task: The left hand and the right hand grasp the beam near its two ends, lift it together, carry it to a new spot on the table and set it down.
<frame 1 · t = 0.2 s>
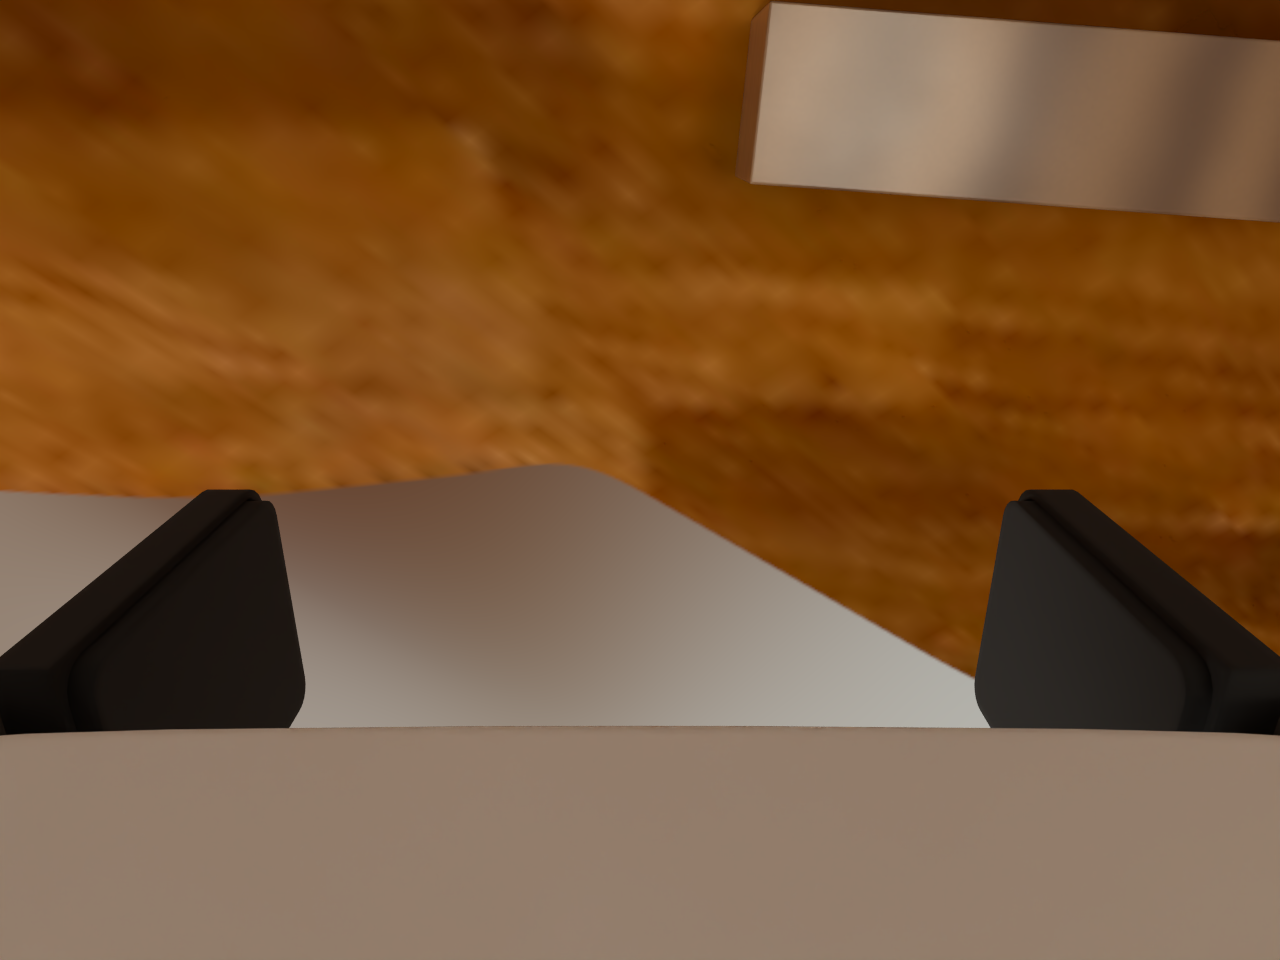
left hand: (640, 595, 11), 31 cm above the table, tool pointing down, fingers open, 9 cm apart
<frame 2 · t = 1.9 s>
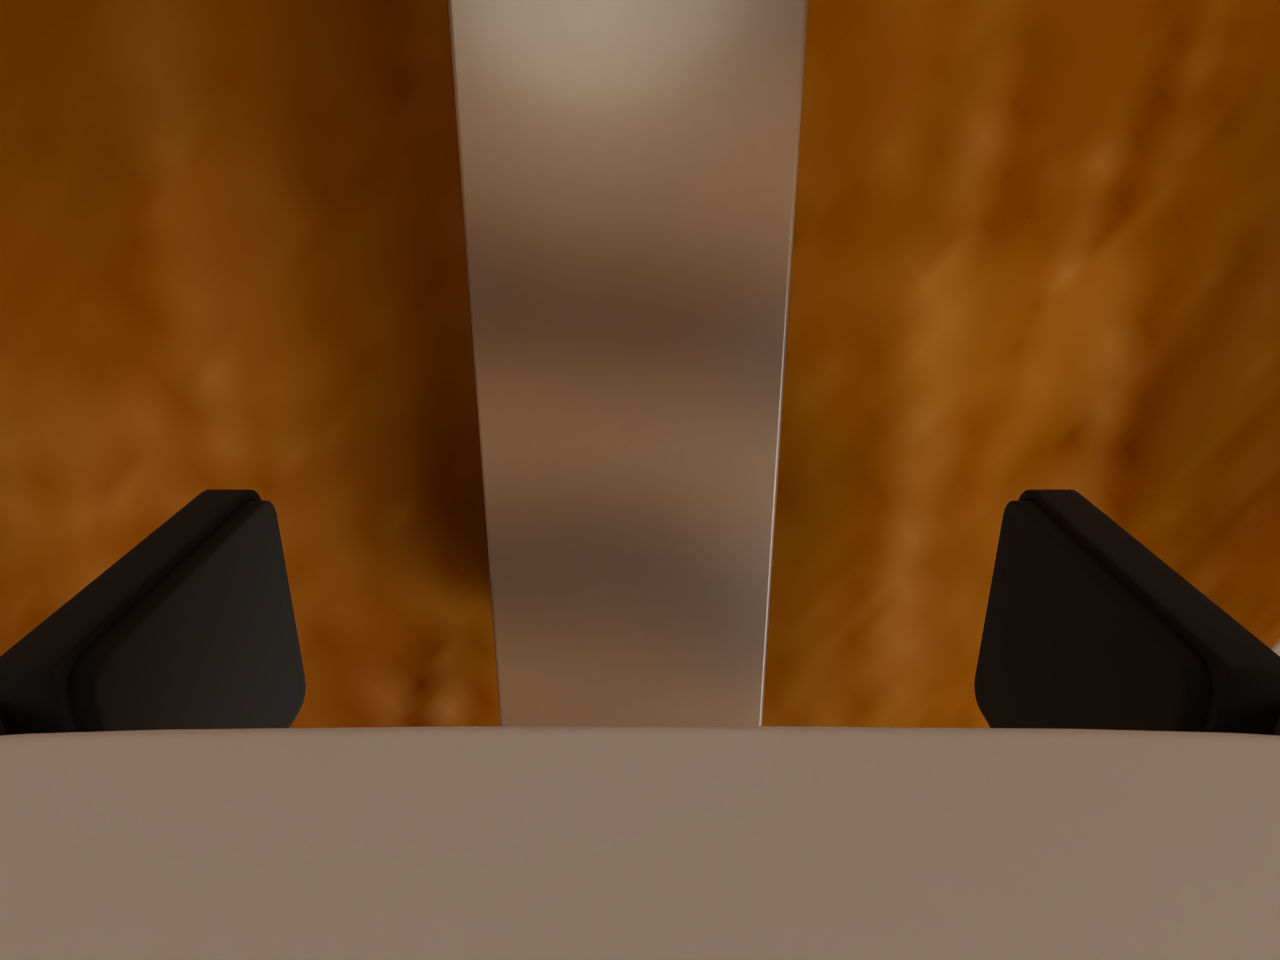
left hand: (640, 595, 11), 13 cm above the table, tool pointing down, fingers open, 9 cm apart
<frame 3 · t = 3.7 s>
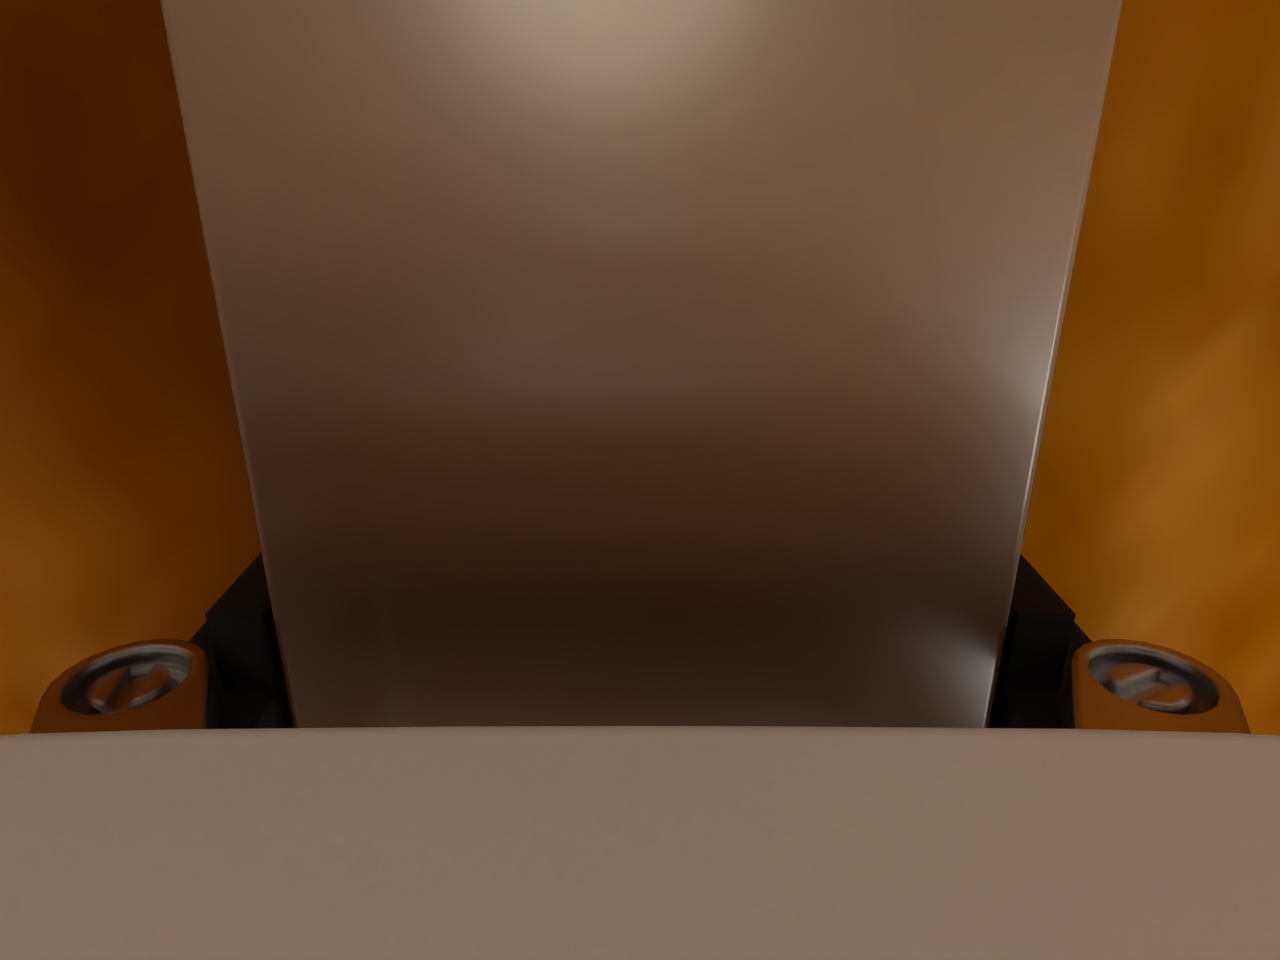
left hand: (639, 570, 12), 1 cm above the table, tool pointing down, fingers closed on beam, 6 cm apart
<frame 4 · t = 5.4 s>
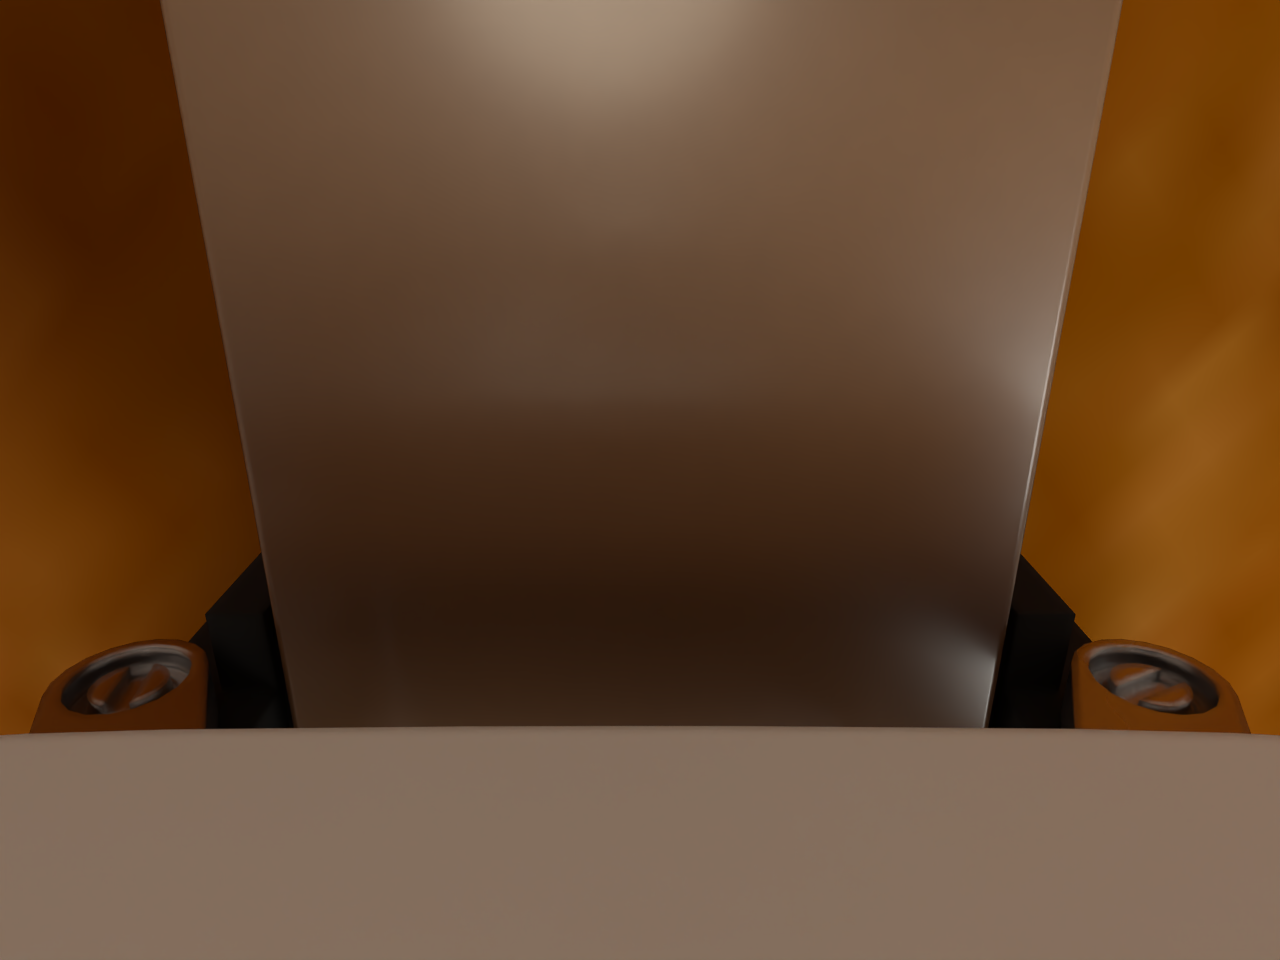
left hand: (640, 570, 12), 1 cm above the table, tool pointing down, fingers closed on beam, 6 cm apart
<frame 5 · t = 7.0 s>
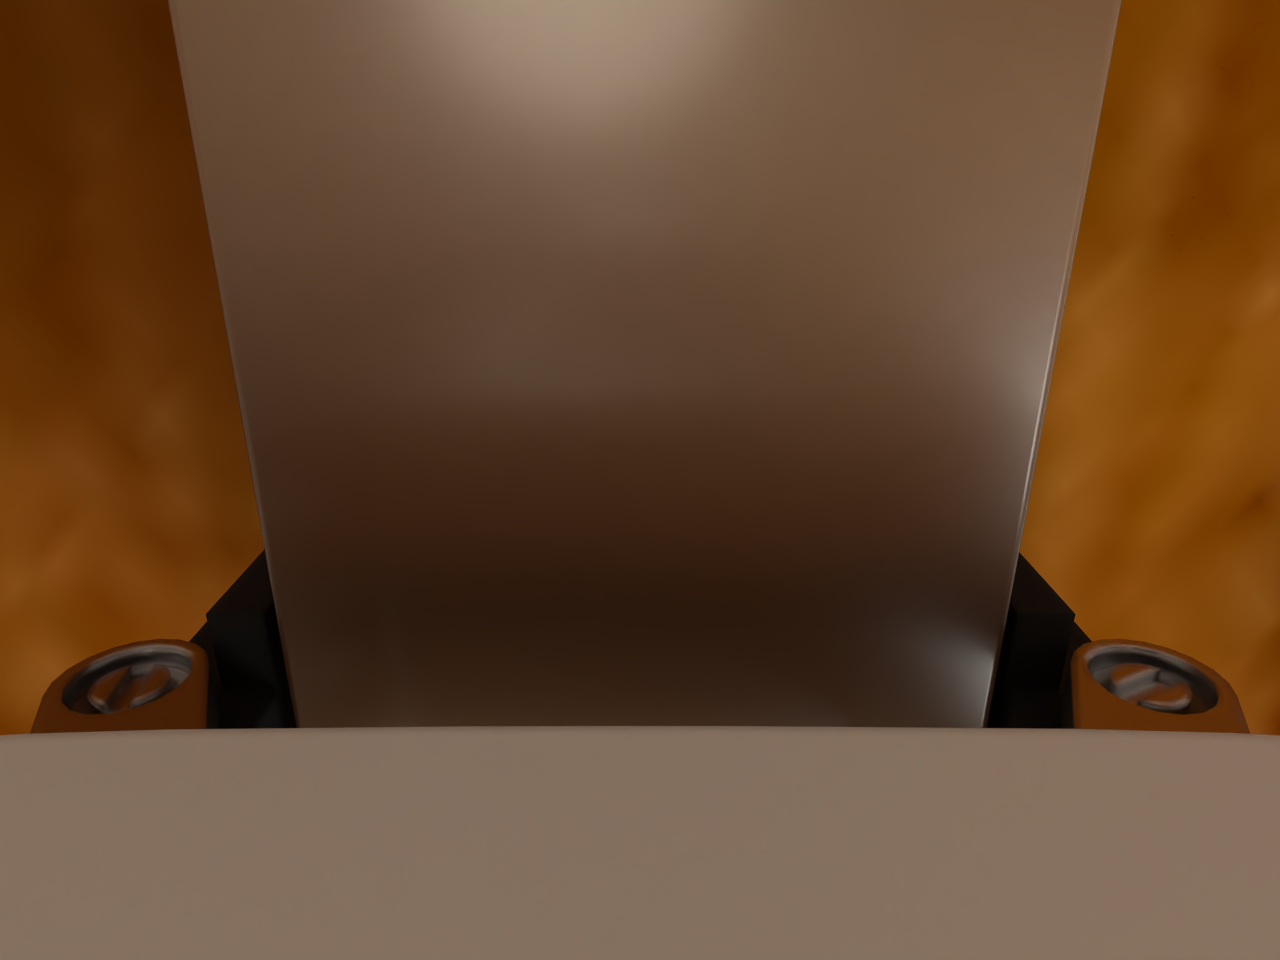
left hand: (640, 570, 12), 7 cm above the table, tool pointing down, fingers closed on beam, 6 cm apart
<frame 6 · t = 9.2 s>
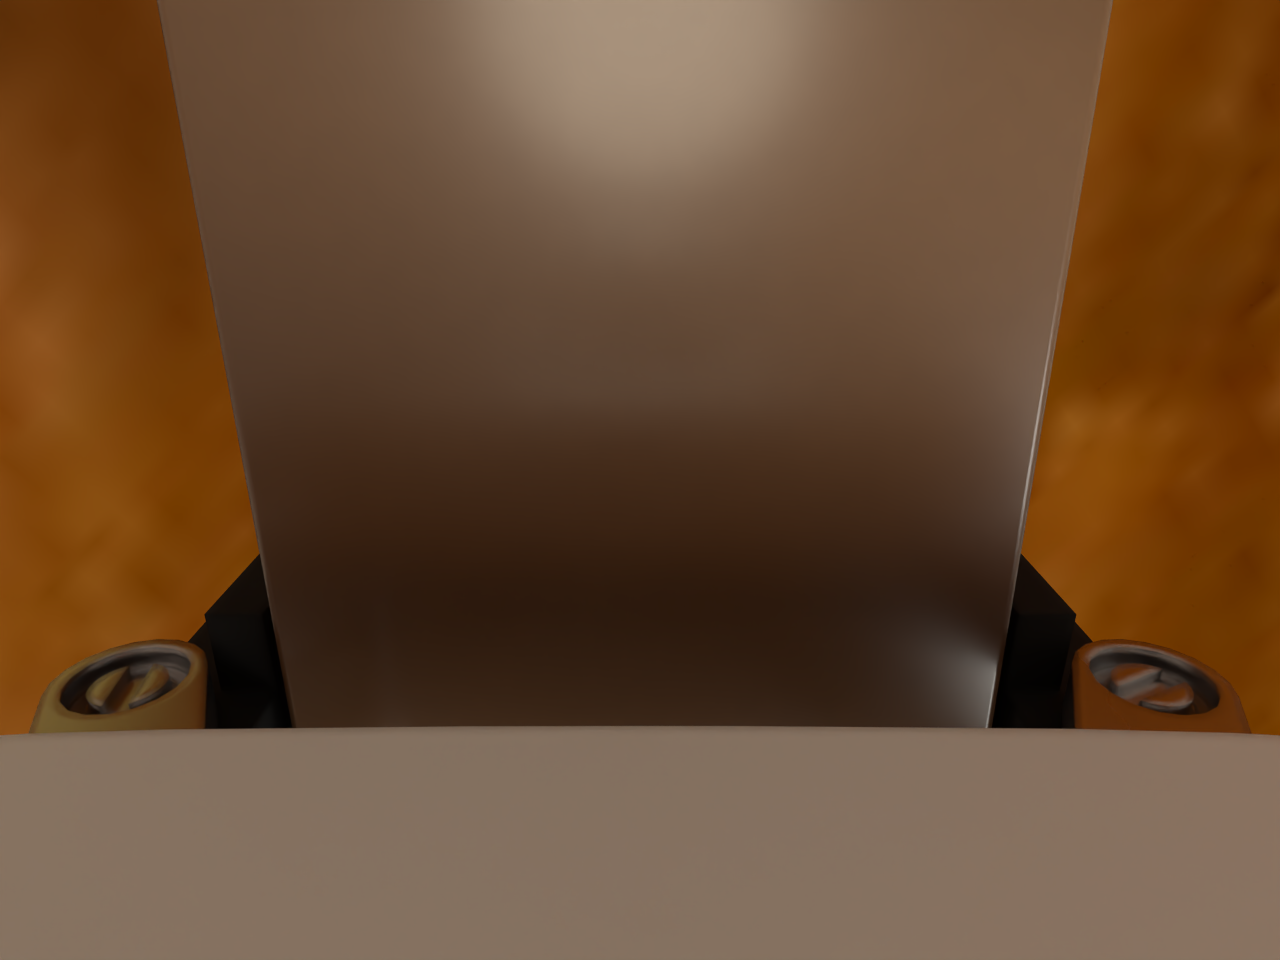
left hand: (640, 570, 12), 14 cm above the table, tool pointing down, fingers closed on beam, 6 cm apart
when the right hand's fingers open (0 cm above the table, at t = 11.3 s): beam stays where it is, on the table.
when the left hand's fingers open (3 cm above the table, at t = 11.4 s): beam stays where it is, on the table.
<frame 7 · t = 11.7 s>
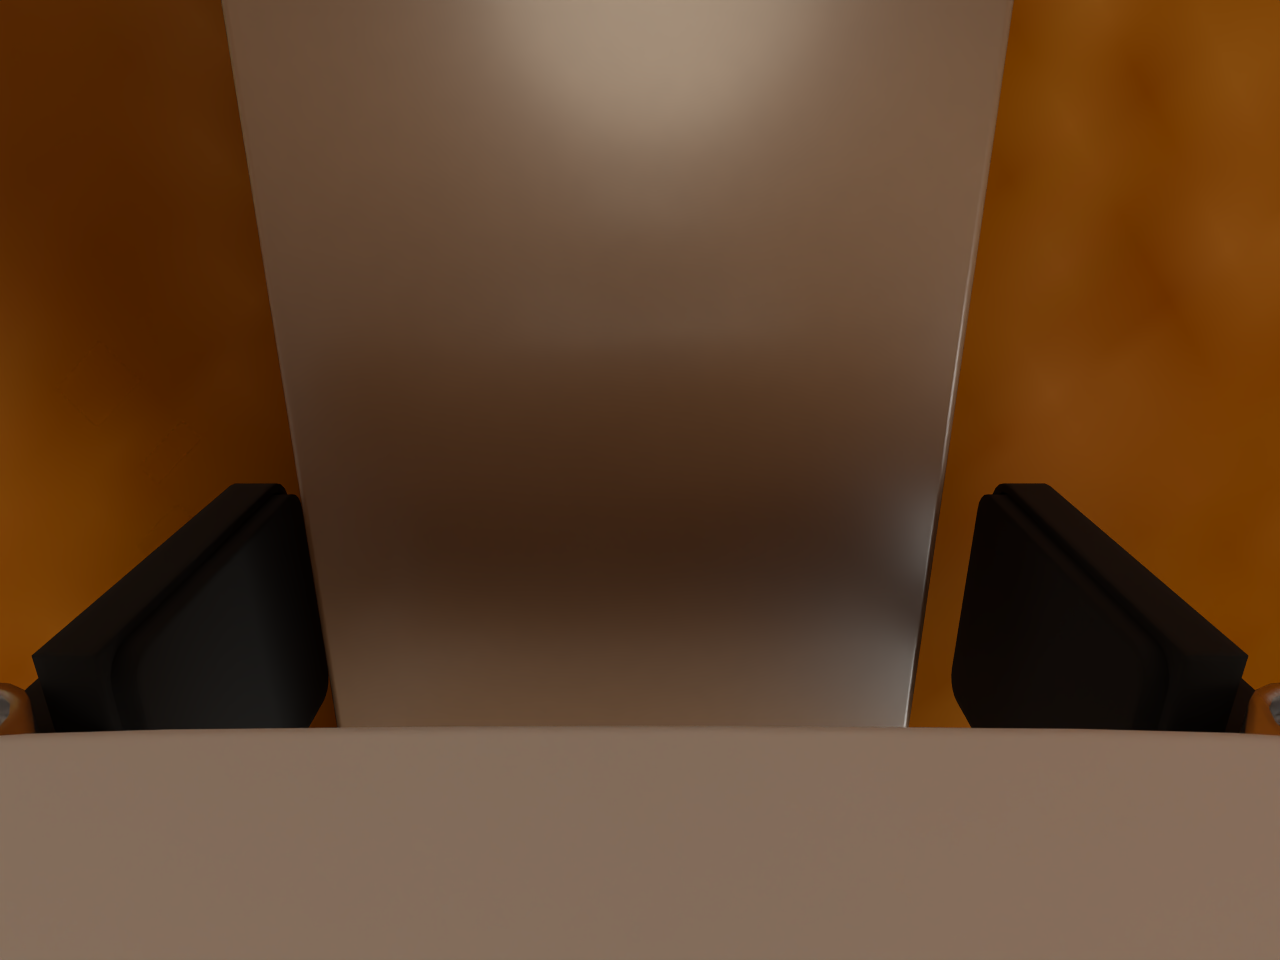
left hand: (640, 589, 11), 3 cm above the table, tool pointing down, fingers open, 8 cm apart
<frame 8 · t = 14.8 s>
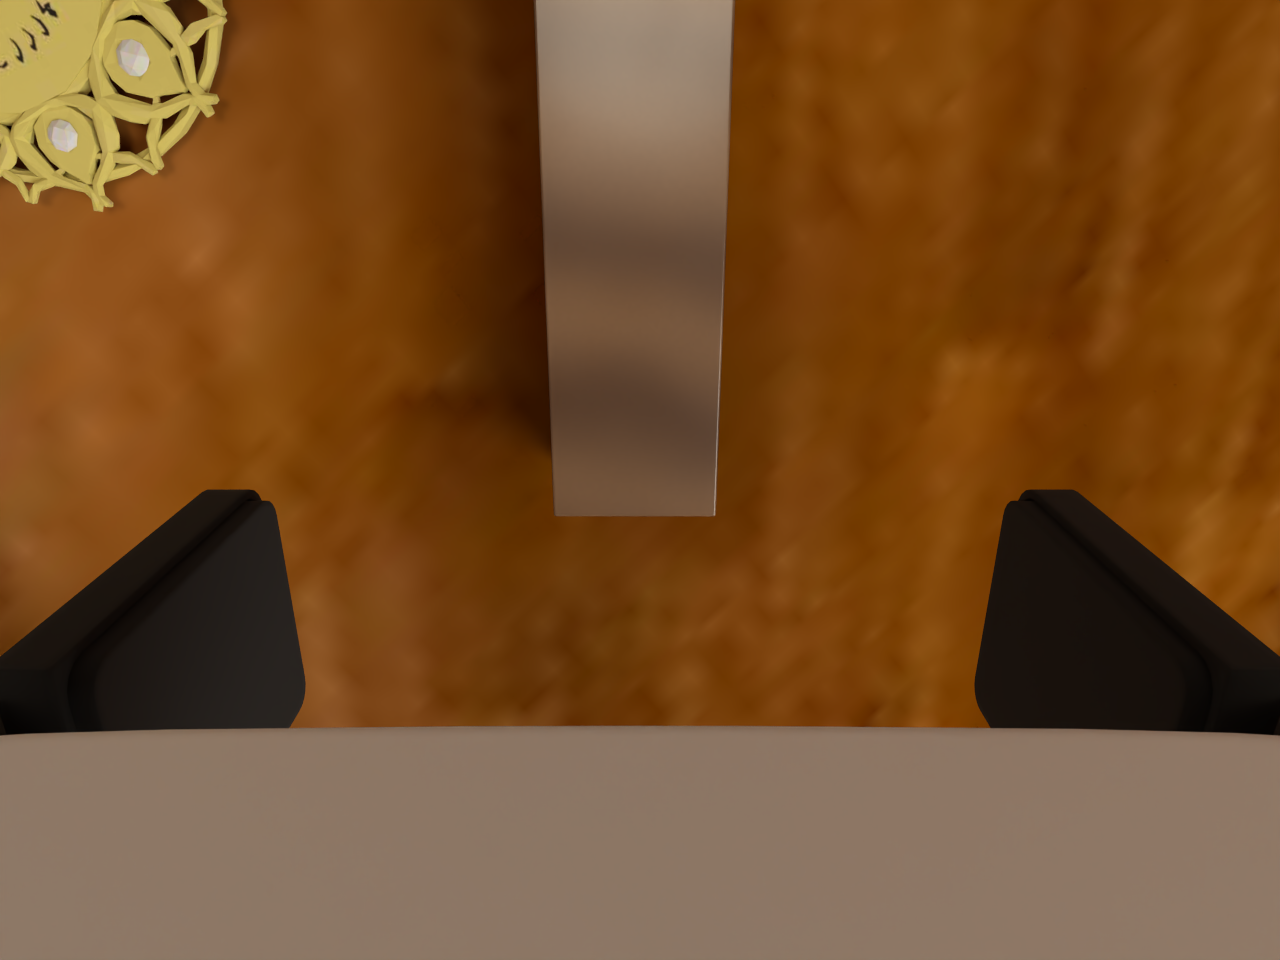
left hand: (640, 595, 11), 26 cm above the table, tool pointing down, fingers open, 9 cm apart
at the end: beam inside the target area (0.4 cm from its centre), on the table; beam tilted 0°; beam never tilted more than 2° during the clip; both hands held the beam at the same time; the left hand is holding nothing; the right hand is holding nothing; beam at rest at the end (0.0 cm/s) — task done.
